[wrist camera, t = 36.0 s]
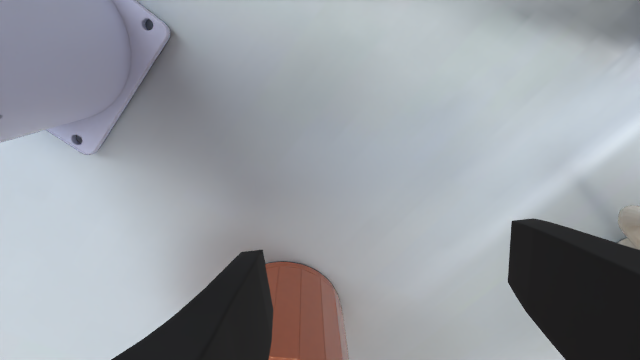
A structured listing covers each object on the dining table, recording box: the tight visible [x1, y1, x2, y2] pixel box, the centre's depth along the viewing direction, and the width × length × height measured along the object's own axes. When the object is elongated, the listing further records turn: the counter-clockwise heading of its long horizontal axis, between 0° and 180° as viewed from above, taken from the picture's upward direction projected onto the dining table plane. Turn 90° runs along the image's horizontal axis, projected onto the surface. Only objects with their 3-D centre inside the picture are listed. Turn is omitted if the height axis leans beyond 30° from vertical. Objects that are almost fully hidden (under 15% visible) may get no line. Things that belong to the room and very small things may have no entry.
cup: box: [265, 262, 349, 360], centre depth 20 cm, size 7×7×8 cm
